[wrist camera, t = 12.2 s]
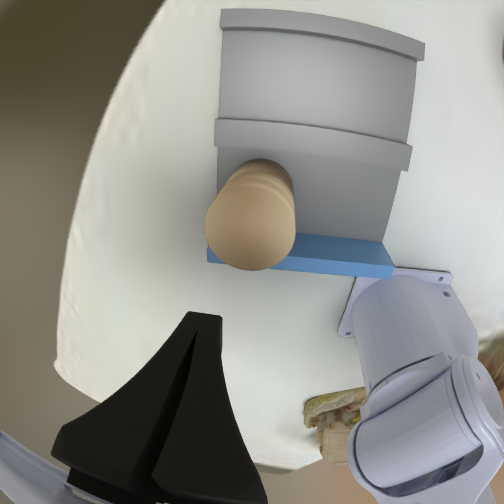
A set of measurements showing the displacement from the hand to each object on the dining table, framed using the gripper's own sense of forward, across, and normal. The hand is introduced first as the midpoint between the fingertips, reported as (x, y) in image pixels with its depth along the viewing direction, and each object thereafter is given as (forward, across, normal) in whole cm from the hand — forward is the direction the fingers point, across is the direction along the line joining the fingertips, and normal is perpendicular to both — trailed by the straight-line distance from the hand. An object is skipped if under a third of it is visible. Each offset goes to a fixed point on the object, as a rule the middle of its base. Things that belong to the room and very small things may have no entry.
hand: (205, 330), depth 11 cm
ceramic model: (+10, -17, +26) cm, 33 cm away
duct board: (+10, -4, -6) cm, 13 cm away
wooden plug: (+9, -2, -3) cm, 10 cm away
